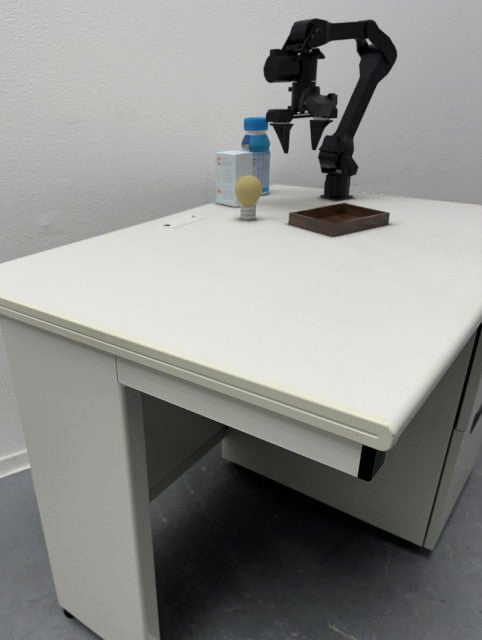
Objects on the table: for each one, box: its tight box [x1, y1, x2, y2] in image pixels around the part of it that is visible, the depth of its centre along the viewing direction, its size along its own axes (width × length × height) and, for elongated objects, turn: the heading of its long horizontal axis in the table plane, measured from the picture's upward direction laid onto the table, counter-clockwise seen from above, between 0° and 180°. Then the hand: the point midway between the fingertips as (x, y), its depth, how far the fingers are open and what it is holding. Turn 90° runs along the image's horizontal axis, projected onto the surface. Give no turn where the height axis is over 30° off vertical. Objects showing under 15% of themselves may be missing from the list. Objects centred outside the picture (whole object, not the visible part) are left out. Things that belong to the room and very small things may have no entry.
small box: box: [215, 149, 253, 208], centre depth 144 cm, size 8×6×13 cm
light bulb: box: [235, 175, 262, 221], centre depth 129 cm, size 6×6×10 cm
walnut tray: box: [287, 202, 391, 238], centre depth 123 cm, size 17×14×3 cm
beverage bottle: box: [240, 116, 272, 196], centre depth 154 cm, size 8×8×20 cm
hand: (300, 151), depth 137 cm, fingers open, 9 cm apart
